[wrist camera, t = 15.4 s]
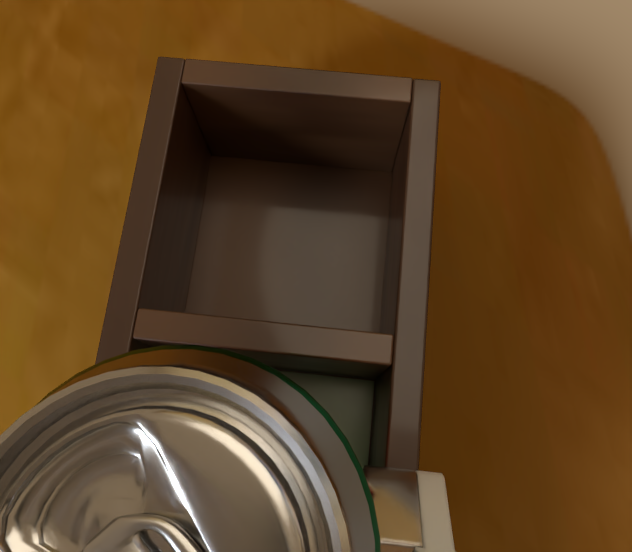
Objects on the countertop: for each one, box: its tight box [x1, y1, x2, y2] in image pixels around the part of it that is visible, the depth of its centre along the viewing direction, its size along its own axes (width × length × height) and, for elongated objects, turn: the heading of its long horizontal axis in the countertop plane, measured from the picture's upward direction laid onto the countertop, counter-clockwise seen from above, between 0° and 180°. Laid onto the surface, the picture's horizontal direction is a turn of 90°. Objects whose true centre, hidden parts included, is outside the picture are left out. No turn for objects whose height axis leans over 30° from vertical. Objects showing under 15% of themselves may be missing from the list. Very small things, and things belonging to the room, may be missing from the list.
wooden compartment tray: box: [95, 57, 441, 471], centre depth 16 cm, size 8×23×5 cm, turn 174°
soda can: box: [0, 345, 381, 552], centre depth 11 cm, size 5×5×12 cm
